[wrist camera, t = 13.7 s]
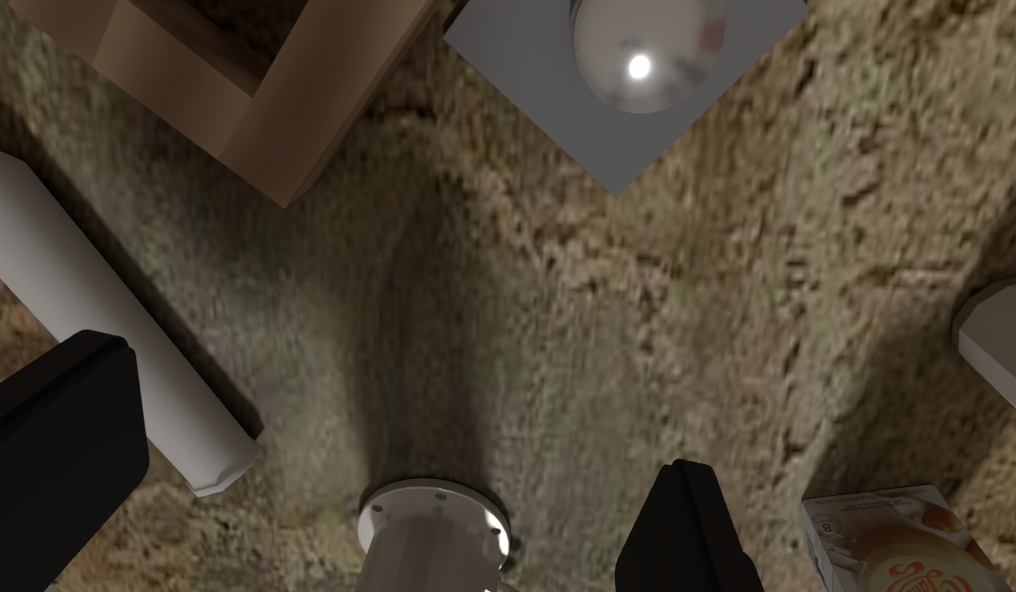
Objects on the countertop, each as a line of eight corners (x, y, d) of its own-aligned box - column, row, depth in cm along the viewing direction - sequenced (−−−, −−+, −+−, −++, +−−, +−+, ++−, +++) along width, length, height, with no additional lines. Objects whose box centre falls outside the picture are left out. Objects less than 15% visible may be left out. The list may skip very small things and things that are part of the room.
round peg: (700, 19, 25) (757, 27, 18) (621, 104, 27) (645, 142, 20) (623, -64, 24) (652, -90, 17) (547, 33, 26) (544, 46, 19)
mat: (805, 9, 25) (810, 9, 24) (614, 194, 30) (615, 197, 29) (624, -213, 22) (625, -217, 21) (443, 37, 27) (442, 38, 26)
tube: (-120, 183, 29) (178, 495, 39) (-92, 157, 26) (220, 500, 37) (-11, 149, 33) (233, 440, 43) (22, 123, 30) (274, 440, 41)
